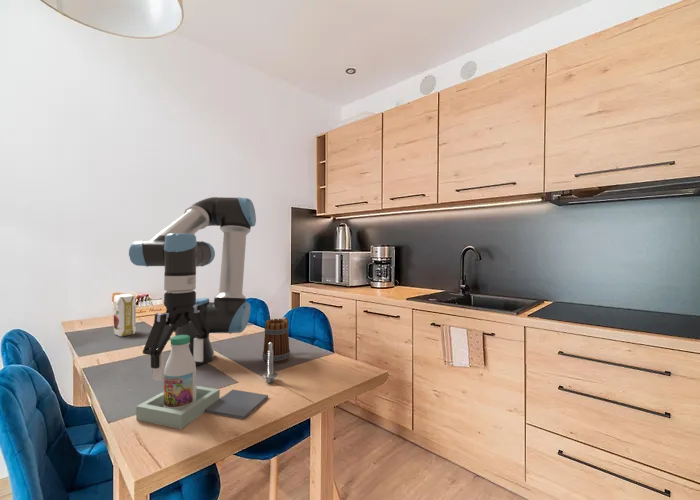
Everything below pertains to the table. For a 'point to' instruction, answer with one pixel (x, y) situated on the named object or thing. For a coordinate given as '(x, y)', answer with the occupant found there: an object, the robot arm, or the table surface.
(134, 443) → the table surface
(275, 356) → the mug
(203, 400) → the collar
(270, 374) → the screw
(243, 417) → the plate
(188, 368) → the milk bottle
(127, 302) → the juice carton
